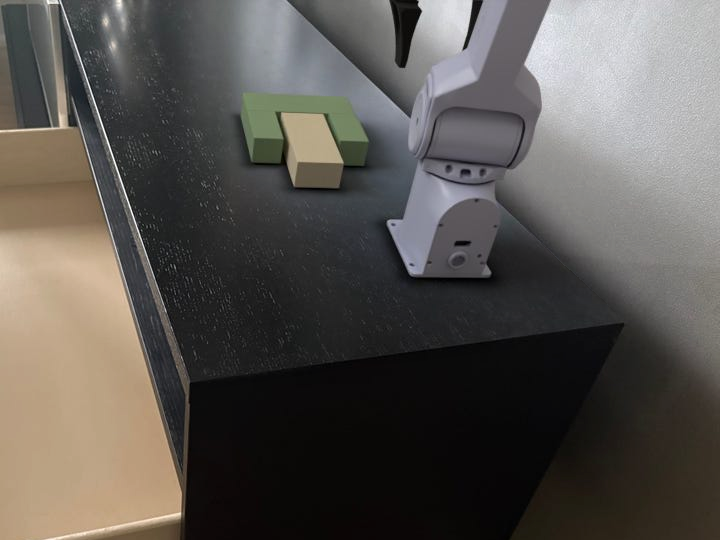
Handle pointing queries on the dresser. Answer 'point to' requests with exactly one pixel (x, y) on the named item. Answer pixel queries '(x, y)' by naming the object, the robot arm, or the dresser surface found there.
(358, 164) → the green u-shaped block
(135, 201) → the dresser surface
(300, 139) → the cream block
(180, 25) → the dresser surface
